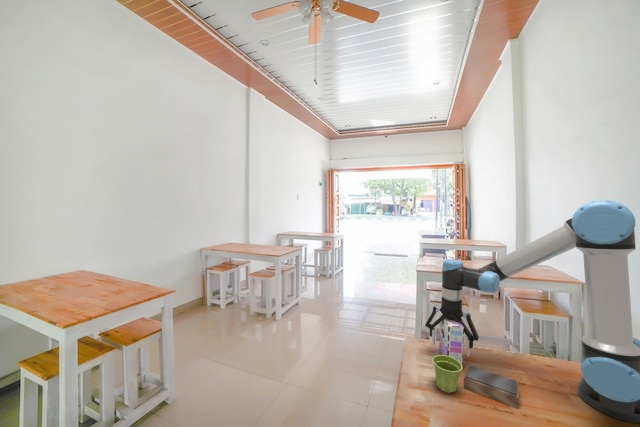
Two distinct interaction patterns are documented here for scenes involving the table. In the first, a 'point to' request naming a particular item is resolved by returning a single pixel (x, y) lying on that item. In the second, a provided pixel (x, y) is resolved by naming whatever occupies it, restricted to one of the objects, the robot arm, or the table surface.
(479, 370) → the plinth
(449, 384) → the plant pot
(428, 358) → the table surface
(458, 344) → the candy box
